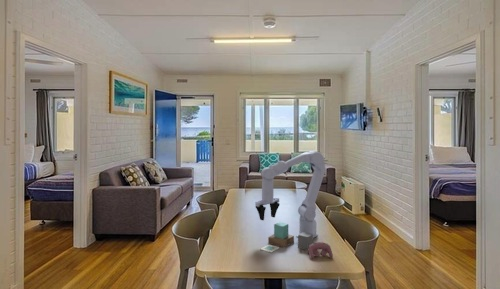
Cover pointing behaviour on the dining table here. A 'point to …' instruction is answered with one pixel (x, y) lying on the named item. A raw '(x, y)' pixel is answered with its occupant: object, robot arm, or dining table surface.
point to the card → (269, 248)
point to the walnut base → (281, 240)
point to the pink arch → (320, 245)
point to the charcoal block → (305, 240)
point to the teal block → (281, 230)
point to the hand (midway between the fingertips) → (267, 218)
